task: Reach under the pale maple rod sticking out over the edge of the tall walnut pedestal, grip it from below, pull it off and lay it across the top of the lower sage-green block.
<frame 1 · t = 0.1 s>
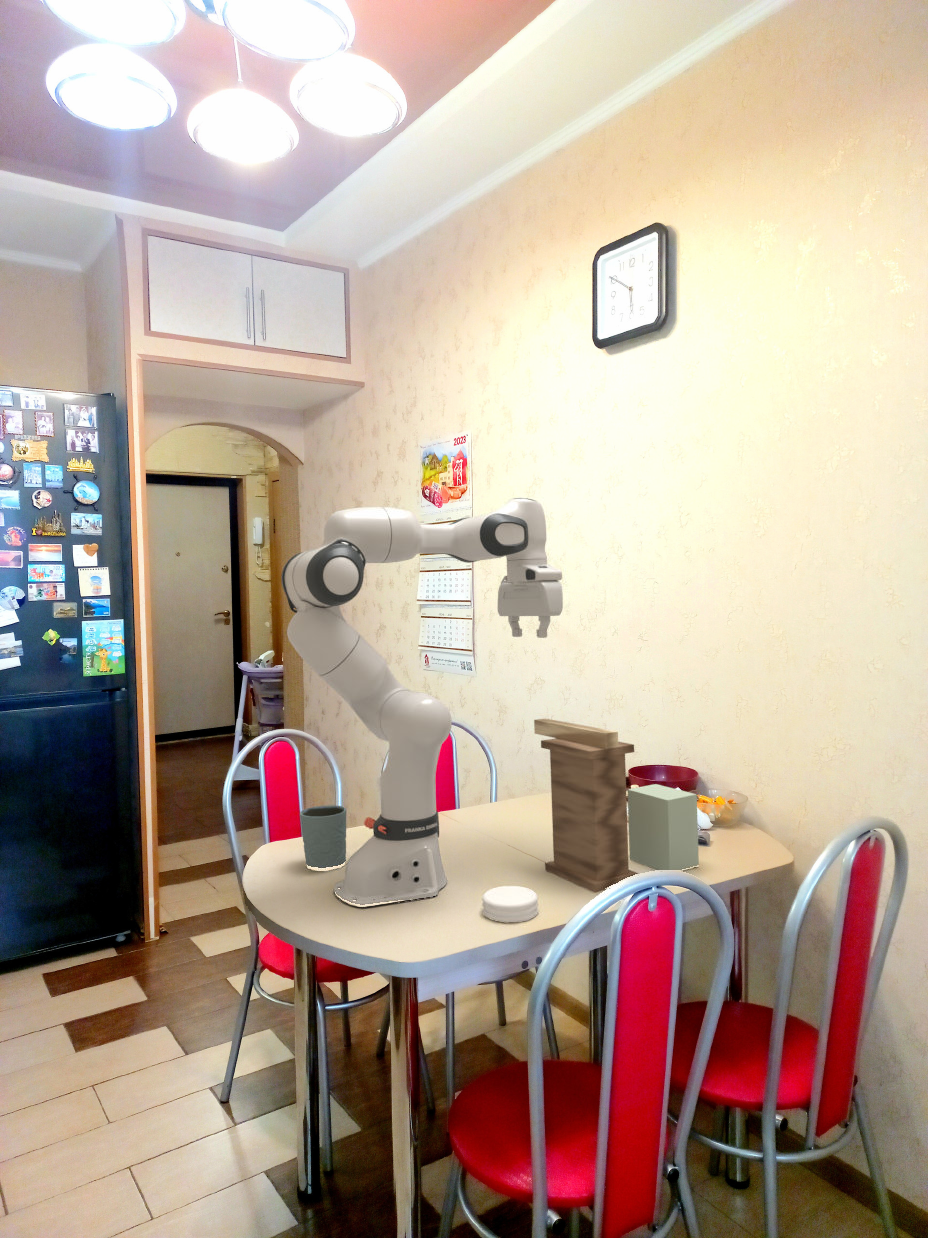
hand: (529, 637, 180), 48 cm above the table, tool pointing down, fingers open, 8 cm apart
grey-green cup: (325, 866, 180), on the table
maple rod: (574, 740, 170), point 27 cm above the table, touching walnut pedestal
coaster: (510, 915, 149), on the table
sage-green block: (663, 863, 173), on the table
walnut pedestal: (590, 875, 167), on the table
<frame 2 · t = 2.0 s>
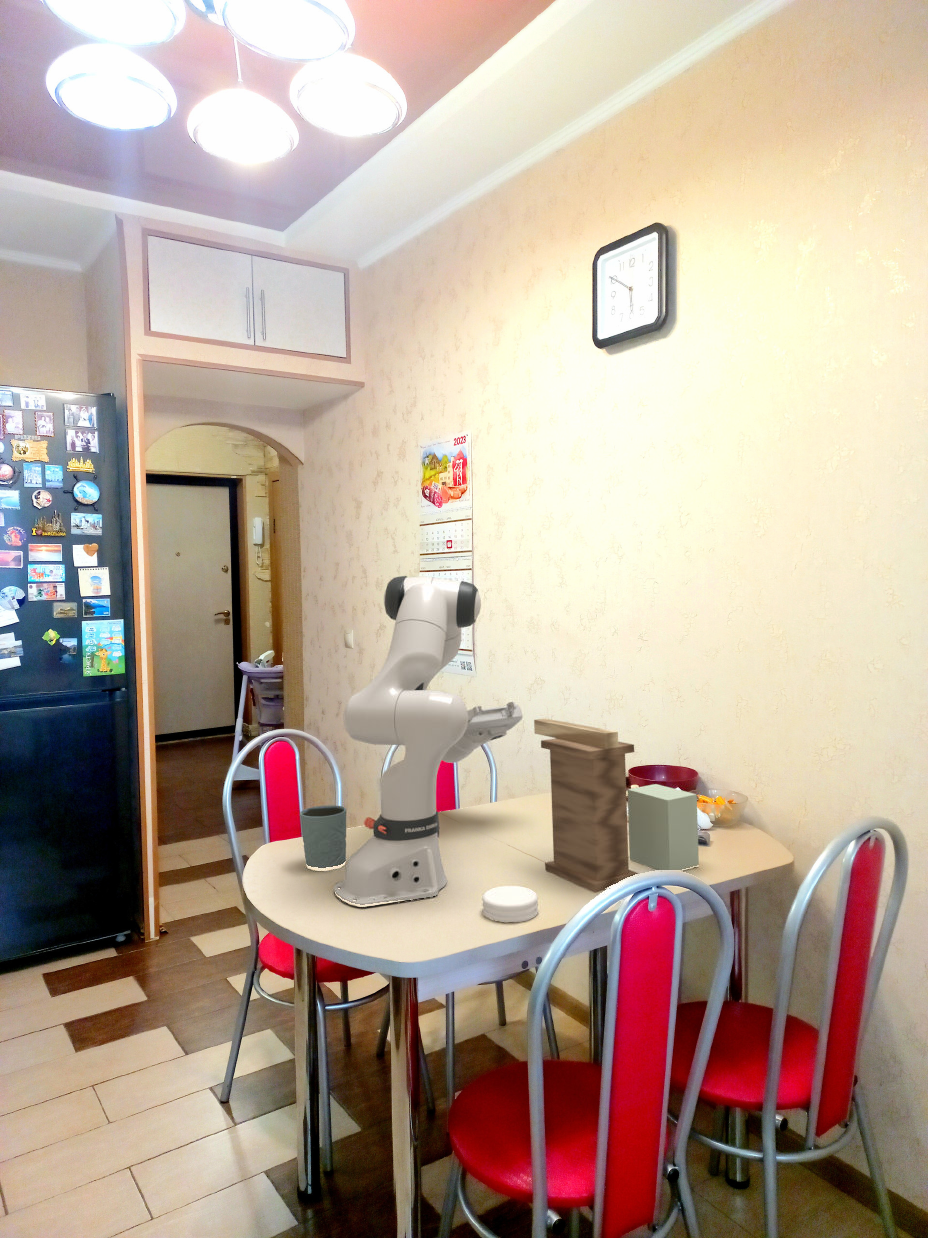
hand: (496, 706, 196), 31 cm above the table, tool pointing upward, fingers open, 8 cm apart
nothing on the table moved.
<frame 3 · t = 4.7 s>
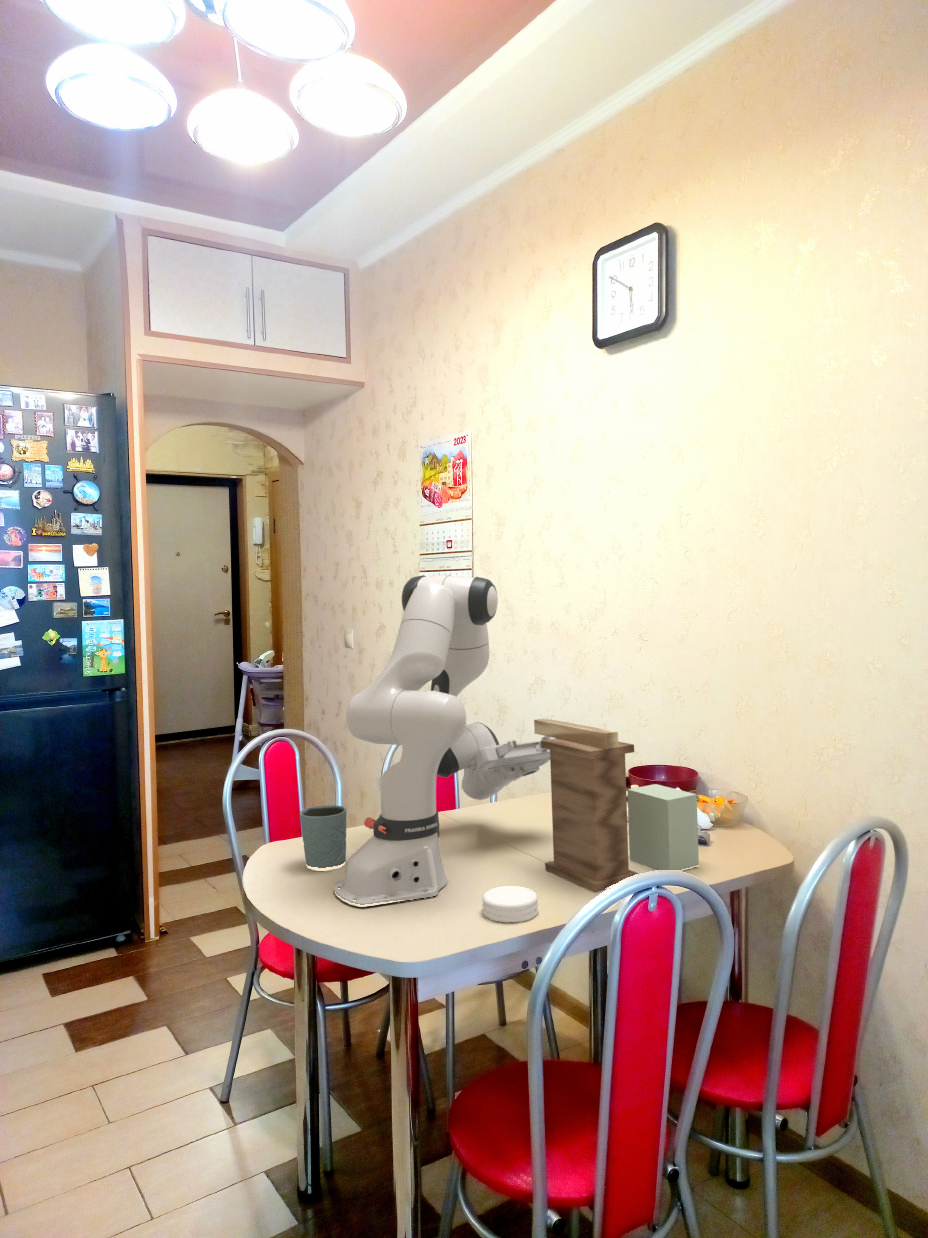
hand: (531, 741, 183), 25 cm above the table, tool pointing upward, fingers open, 8 cm apart
nothing on the table moved.
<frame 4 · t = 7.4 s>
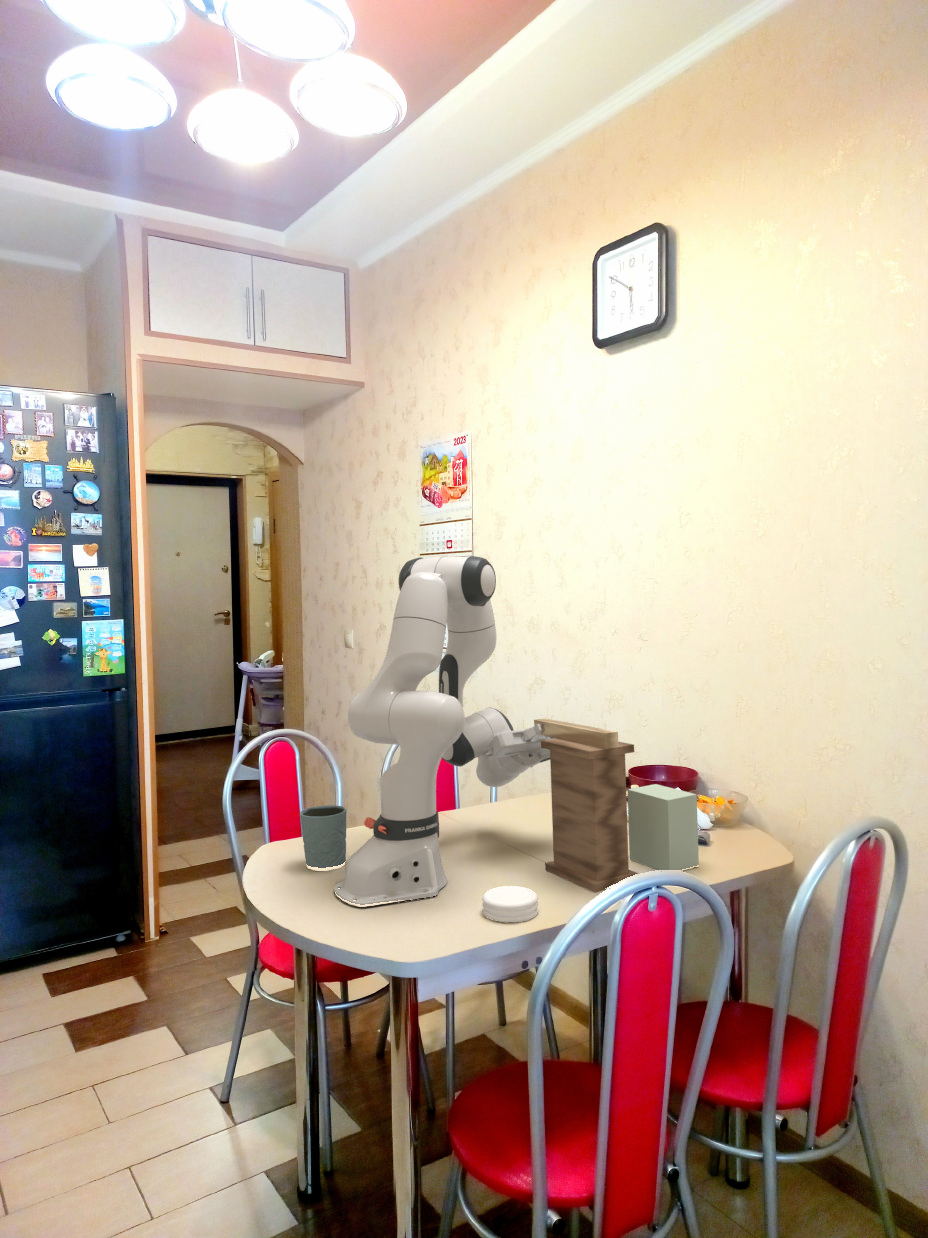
hand: (550, 725, 177), 29 cm above the table, tool pointing upward, fingers closed on maple rod, 3 cm apart
maple rod: (574, 740, 170), point 27 cm above the table, touching gripper, walnut pedestal
everything else where it was.
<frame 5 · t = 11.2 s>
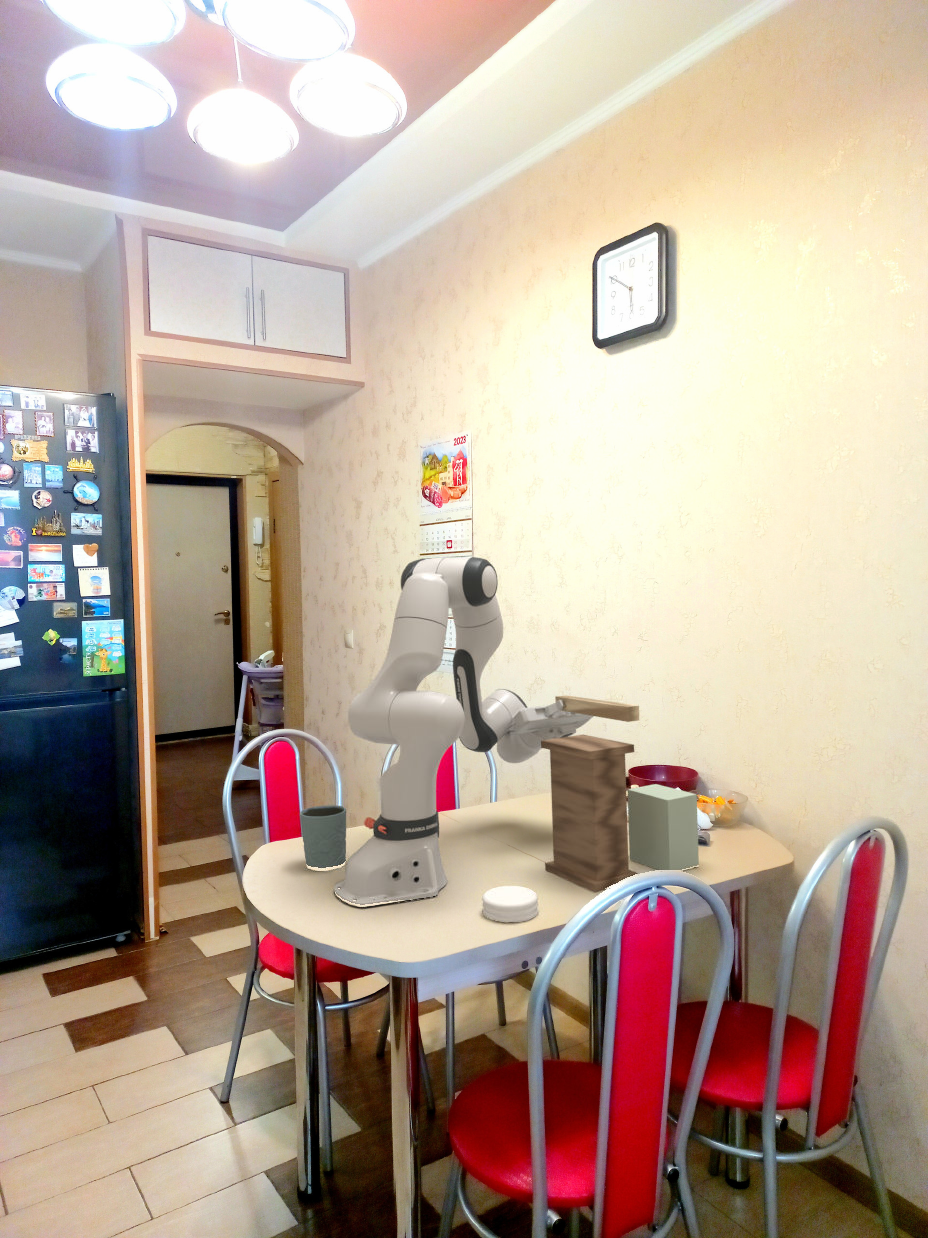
hand: (571, 702, 184), 33 cm above the table, tool pointing upward, fingers closed on maple rod, 3 cm apart
maple rod: (595, 714, 177), point 31 cm above the table, touching gripper
everything else where it was.
when the fingers open (18 cm above the table, at t = 15.4 s): maple rod drops 1 cm, resting on sage-green block.
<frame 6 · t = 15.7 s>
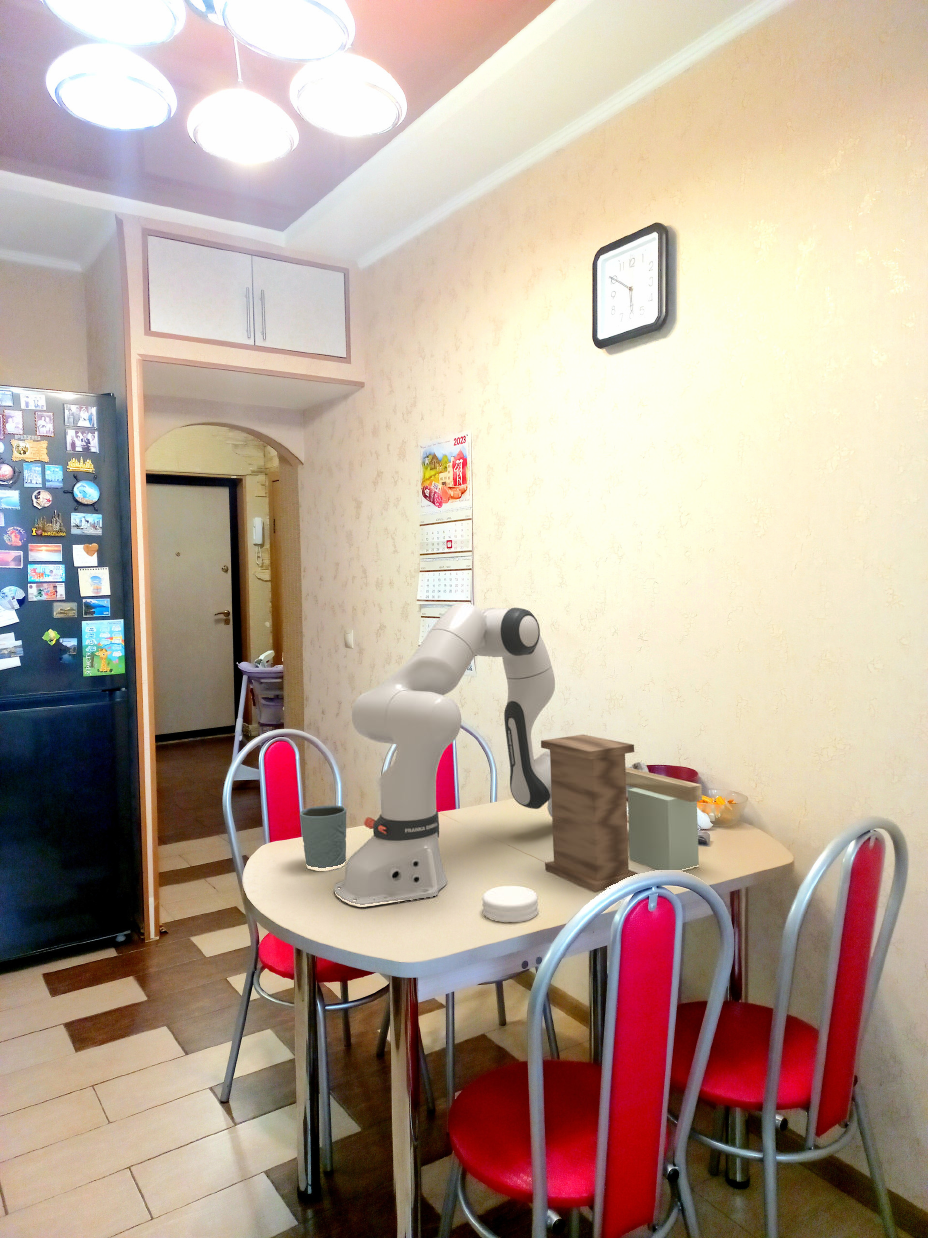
hand: (628, 767, 182), 18 cm above the table, tool pointing upward, fingers open, 6 cm apart
maple rod: (654, 790, 175), point 15 cm above the table, touching sage-green block
everything else where it was.
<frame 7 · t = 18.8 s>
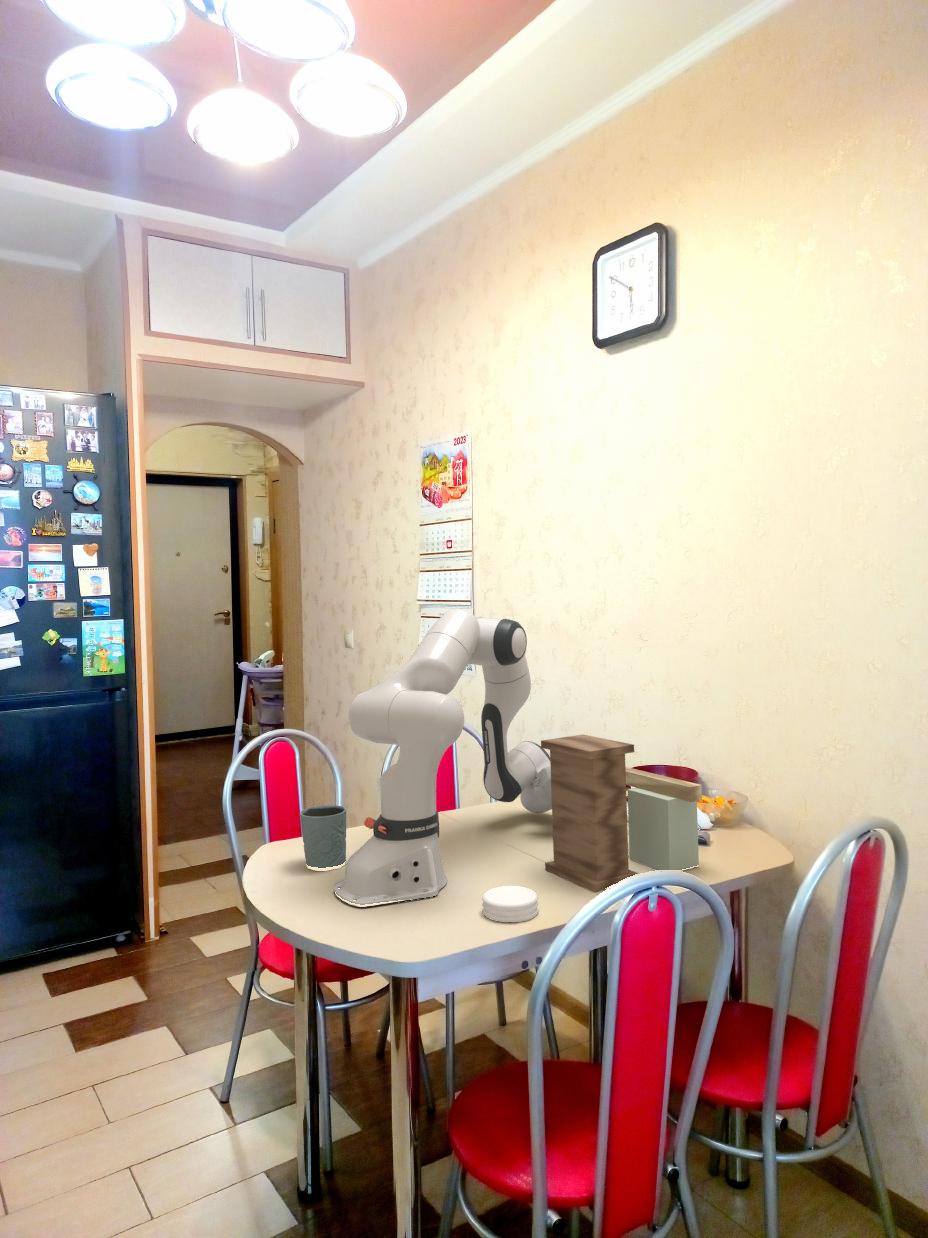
hand: (593, 759, 192), 18 cm above the table, tool pointing upward, fingers open, 8 cm apart
nothing on the table moved.
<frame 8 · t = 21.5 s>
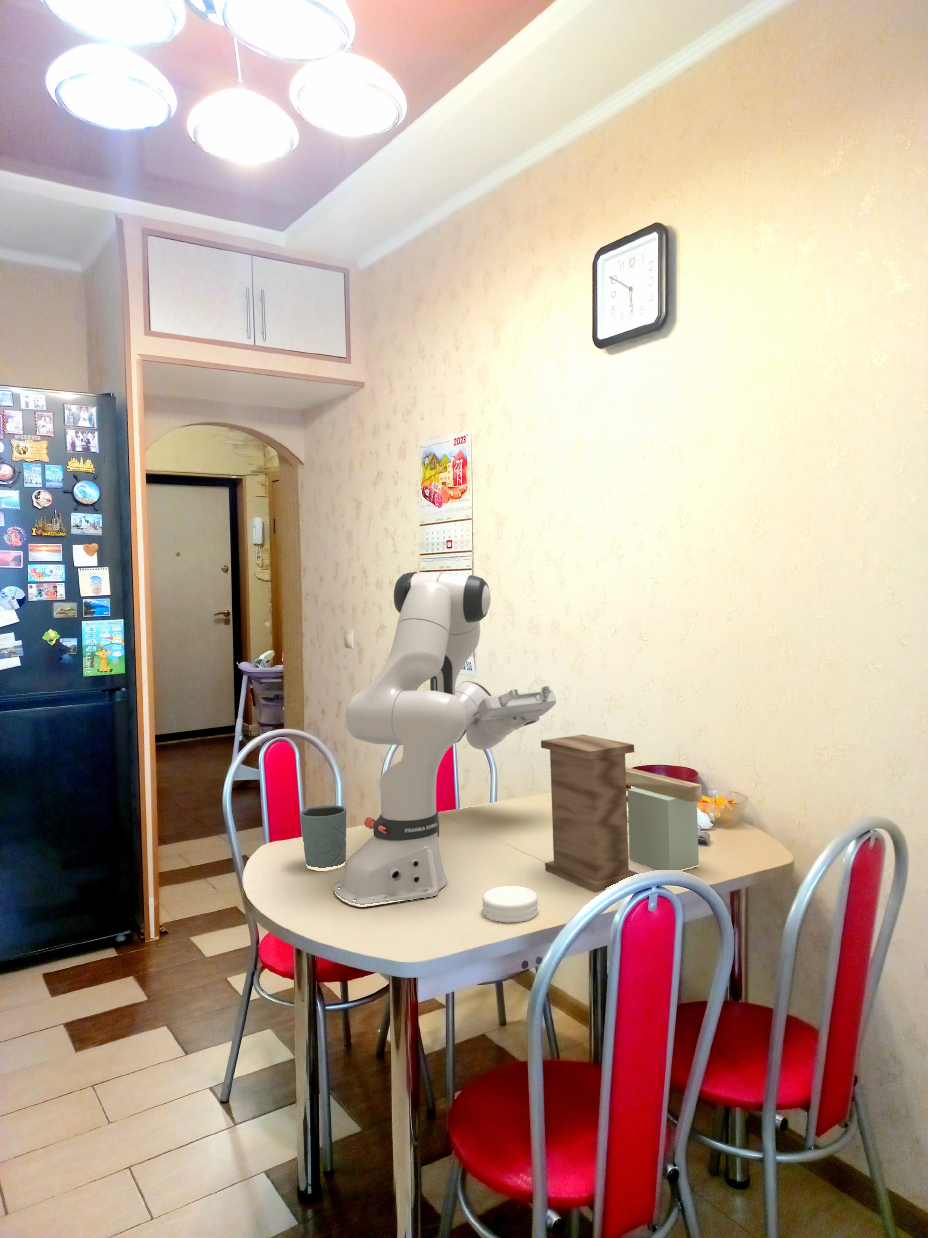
hand: (532, 690, 197), 34 cm above the table, tool pointing upward, fingers open, 8 cm apart
nothing on the table moved.
at the end: maple rod inside the target area on the sage-green block (0.6 cm from its centre), point 15.0 cm above the sage-green block's base; maple rod touching sage-green block; the gripper is holding nothing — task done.
